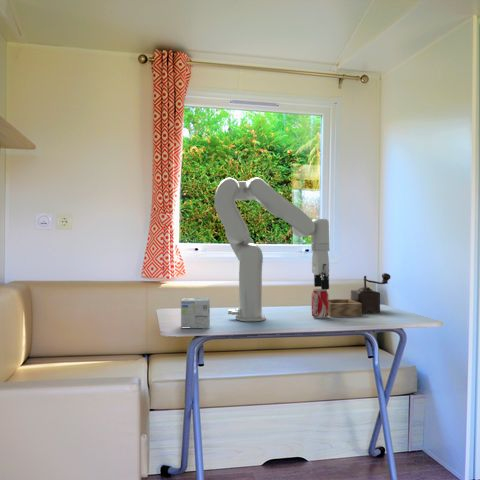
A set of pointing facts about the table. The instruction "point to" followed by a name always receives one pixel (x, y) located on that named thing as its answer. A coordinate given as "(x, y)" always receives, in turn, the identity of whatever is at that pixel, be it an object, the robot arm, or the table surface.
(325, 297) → the soda can
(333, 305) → the open wooden box
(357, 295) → the manual coffee grinder
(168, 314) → the table surface
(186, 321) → the light bulb box
